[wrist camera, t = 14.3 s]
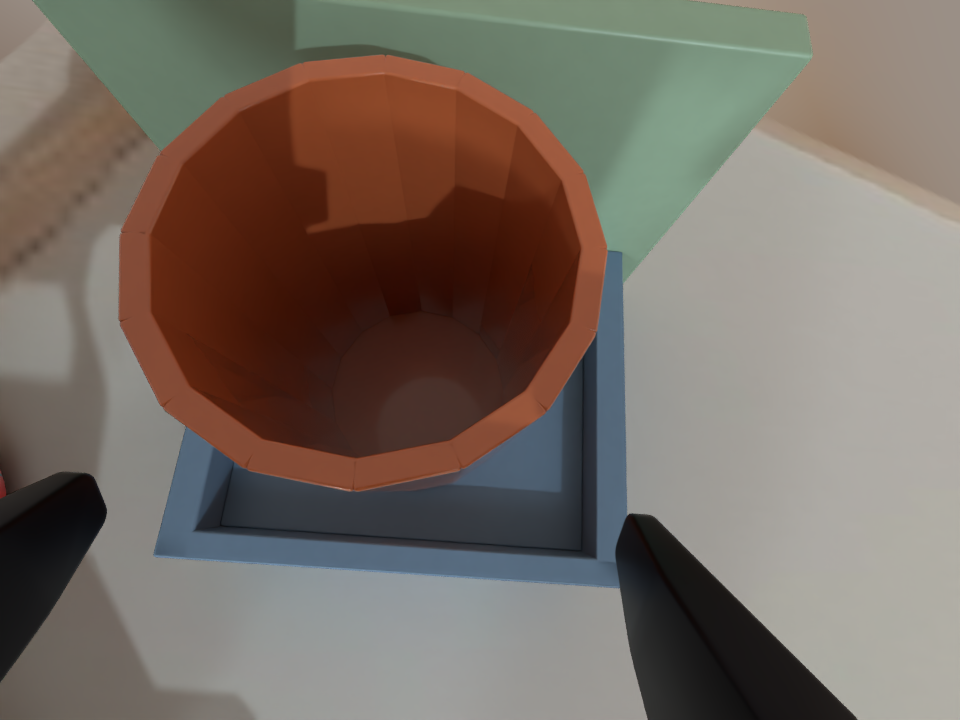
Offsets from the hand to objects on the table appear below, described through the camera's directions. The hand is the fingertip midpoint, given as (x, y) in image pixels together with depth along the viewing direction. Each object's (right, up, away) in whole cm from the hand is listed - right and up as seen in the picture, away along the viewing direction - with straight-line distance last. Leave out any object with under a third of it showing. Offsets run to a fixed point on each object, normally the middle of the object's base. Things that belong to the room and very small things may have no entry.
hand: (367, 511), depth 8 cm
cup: (0, +1, +9) cm, 9 cm away
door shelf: (-1, 0, +12) cm, 12 cm away
